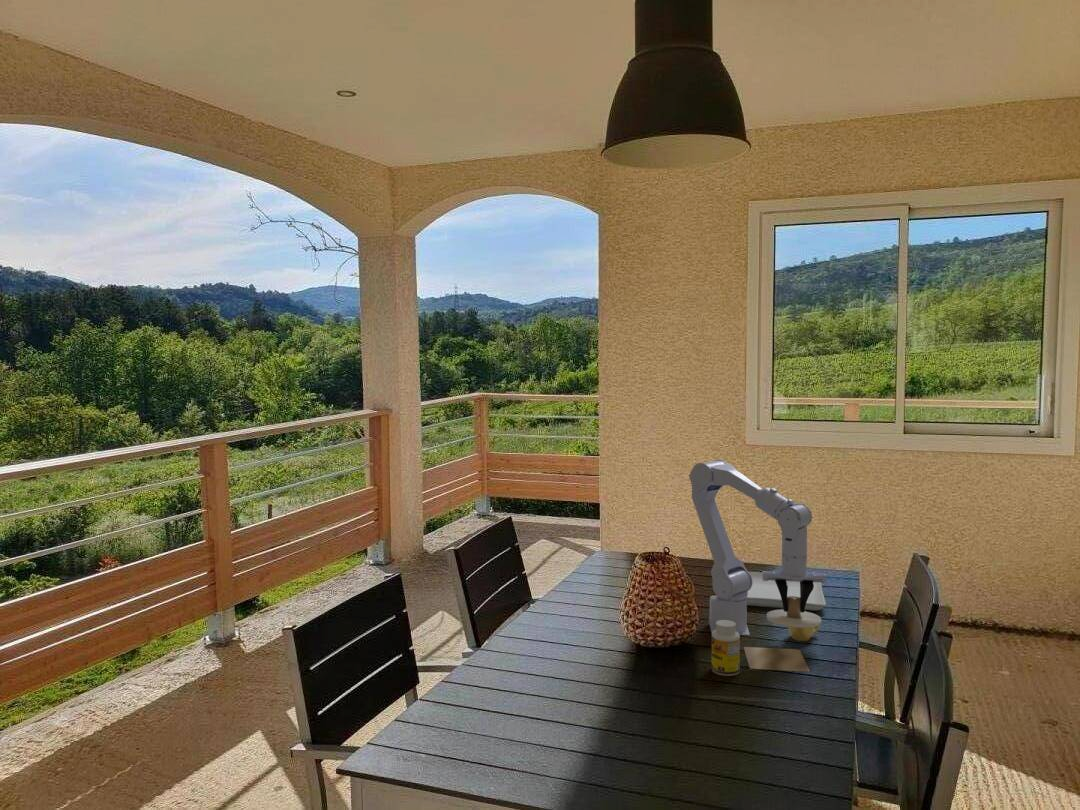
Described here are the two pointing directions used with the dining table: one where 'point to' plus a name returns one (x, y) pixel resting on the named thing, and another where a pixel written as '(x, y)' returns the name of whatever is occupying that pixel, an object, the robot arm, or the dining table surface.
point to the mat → (775, 659)
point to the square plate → (770, 595)
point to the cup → (802, 632)
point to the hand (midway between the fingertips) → (793, 610)
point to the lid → (794, 615)
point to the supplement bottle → (725, 648)
